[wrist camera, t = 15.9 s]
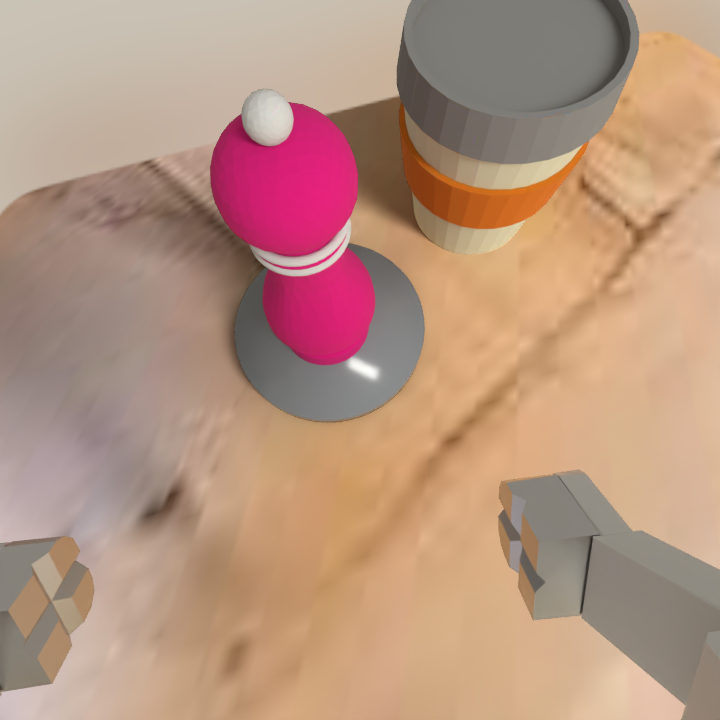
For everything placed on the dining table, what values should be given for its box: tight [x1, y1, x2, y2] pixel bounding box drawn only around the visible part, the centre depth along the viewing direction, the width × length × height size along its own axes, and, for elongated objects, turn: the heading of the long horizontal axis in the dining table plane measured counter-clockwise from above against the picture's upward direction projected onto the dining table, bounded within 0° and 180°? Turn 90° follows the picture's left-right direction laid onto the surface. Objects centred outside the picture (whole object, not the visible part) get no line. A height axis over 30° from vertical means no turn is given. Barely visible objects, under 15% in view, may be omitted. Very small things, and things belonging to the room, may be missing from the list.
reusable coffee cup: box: [397, 0, 639, 255], centre depth 31 cm, size 13×13×15 cm
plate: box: [235, 243, 425, 422], centre depth 35 cm, size 14×14×1 cm
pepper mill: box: [210, 89, 375, 365], centre depth 25 cm, size 7×7×20 cm
